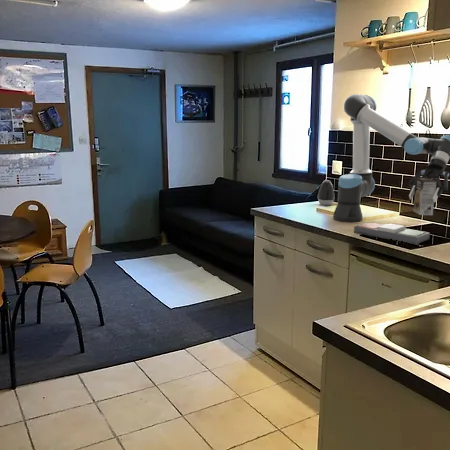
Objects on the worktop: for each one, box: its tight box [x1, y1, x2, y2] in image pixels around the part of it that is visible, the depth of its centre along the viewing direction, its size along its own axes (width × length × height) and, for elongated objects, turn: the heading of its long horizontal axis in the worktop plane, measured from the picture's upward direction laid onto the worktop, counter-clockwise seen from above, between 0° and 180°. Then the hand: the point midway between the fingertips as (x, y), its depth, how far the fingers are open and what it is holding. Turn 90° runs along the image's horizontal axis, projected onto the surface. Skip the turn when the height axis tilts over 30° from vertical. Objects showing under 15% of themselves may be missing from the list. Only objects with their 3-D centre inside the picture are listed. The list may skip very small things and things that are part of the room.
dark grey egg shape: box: [317, 179, 335, 206], centre depth 303 cm, size 10×10×15 cm
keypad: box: [353, 222, 431, 245], centre depth 224 cm, size 30×14×3 cm, turn 46°
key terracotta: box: [358, 222, 382, 229], centre depth 230 cm, size 8×11×2 cm
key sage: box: [398, 228, 427, 237], centre depth 218 cm, size 8×11×2 cm
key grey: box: [377, 223, 406, 233], centre depth 224 cm, size 8×11×2 cm
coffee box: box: [412, 178, 438, 216], centre depth 227 cm, size 9×6×16 cm
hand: (421, 199), depth 225 cm, fingers closed on coffee box, 10 cm apart
